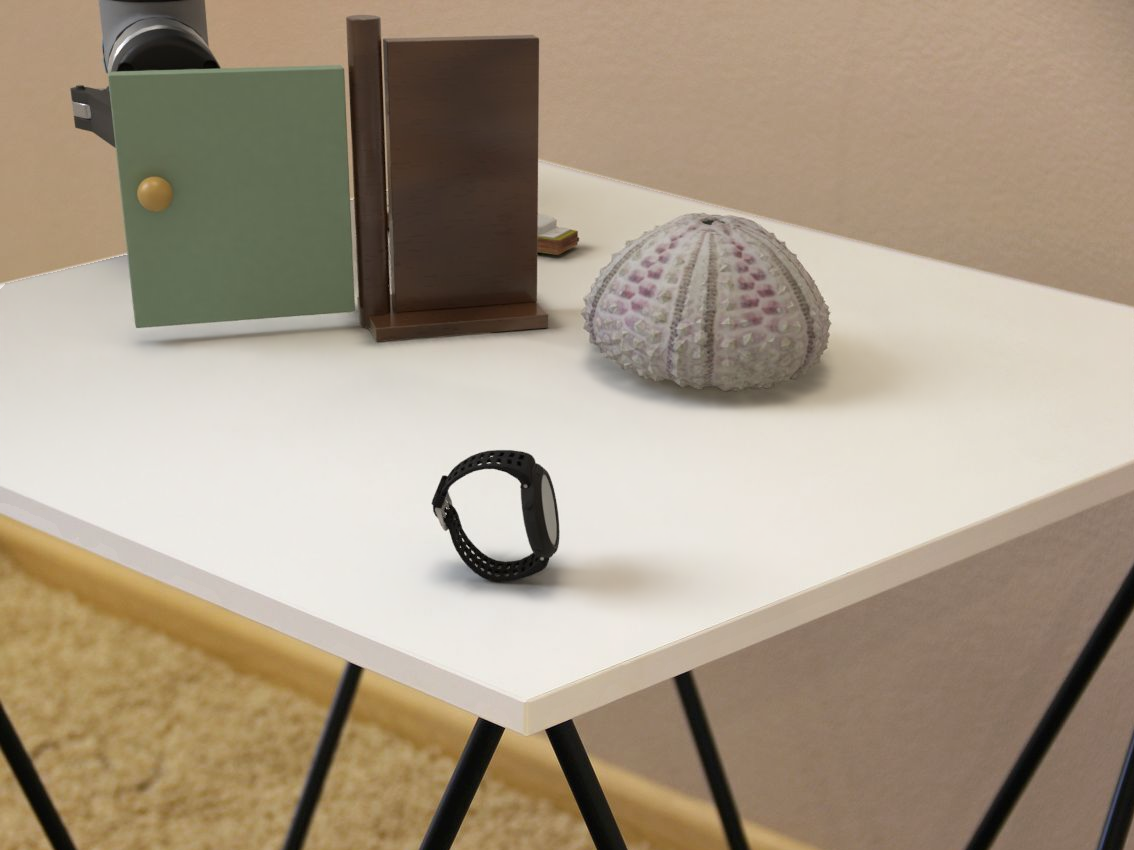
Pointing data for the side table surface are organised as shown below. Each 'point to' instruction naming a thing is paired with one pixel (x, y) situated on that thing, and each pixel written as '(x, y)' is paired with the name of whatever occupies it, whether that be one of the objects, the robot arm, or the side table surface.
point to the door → (234, 192)
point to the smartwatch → (535, 508)
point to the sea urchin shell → (708, 306)
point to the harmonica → (549, 236)
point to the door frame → (445, 182)
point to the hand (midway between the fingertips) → (195, 159)
